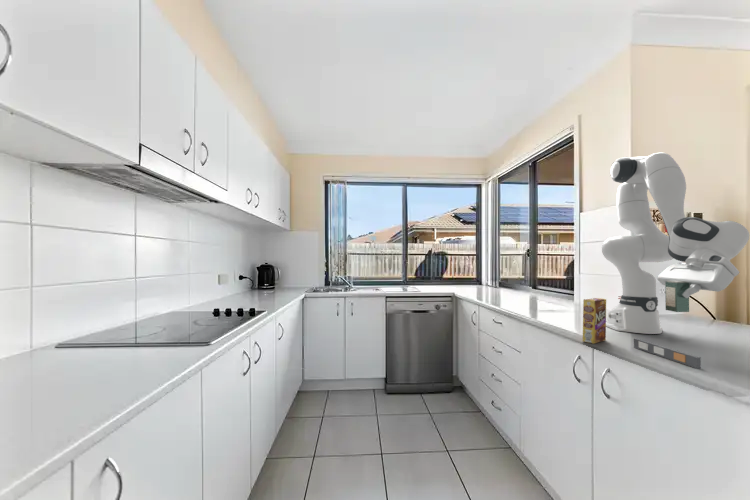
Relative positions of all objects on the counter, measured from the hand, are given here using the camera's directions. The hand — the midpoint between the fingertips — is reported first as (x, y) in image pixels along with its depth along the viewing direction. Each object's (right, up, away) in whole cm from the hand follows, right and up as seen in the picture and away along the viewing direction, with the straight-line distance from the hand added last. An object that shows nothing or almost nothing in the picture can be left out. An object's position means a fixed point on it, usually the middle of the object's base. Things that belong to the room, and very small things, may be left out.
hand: (675, 295), depth 111 cm
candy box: (-16, -19, +16) cm, 29 cm away
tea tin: (+1, -5, 0) cm, 5 cm away
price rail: (-7, -18, -4) cm, 20 cm away
